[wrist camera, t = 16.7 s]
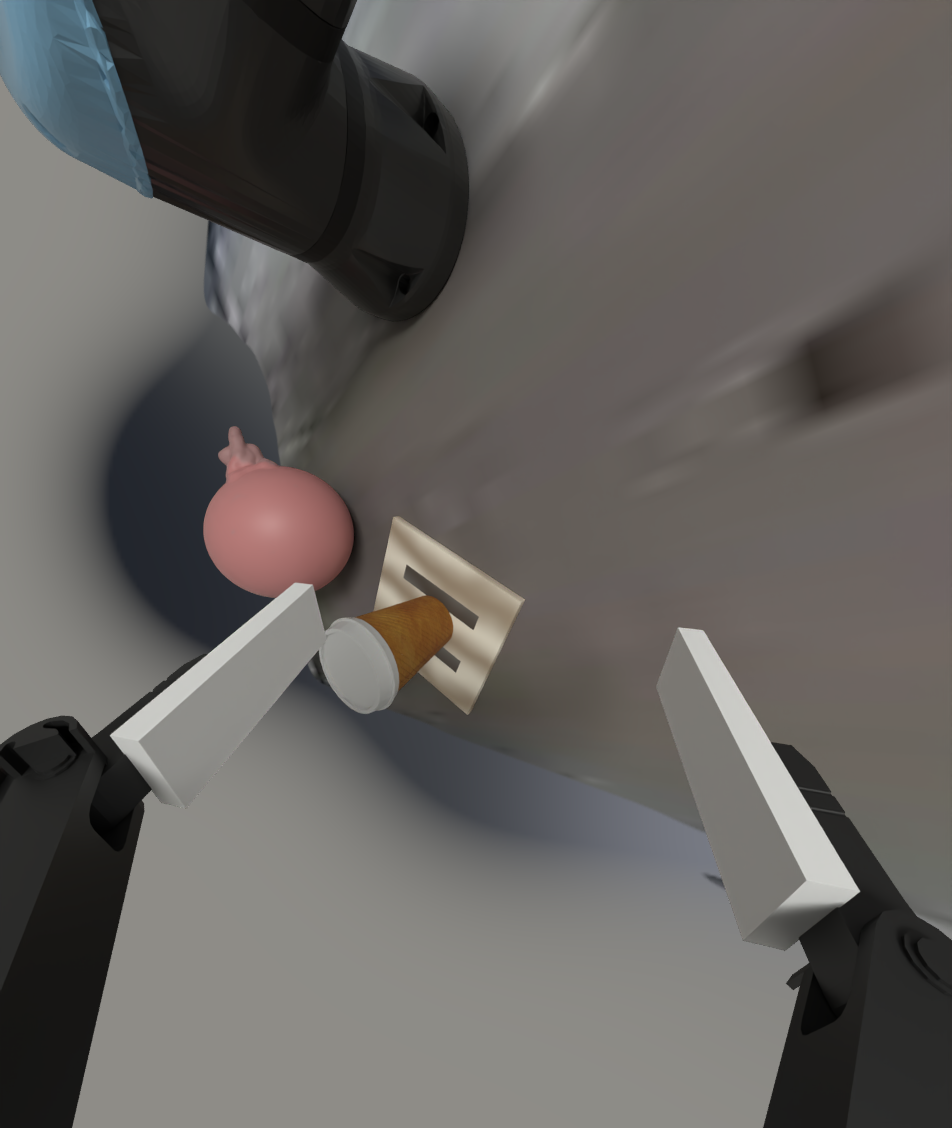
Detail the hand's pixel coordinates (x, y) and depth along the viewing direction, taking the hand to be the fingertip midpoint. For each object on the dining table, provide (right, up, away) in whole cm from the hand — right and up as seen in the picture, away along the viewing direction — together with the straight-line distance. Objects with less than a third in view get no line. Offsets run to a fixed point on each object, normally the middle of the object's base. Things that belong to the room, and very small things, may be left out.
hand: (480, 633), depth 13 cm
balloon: (-19, +11, +35) cm, 41 cm away
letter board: (-5, -4, +29) cm, 30 cm away
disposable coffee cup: (-5, -4, +29) cm, 30 cm away
